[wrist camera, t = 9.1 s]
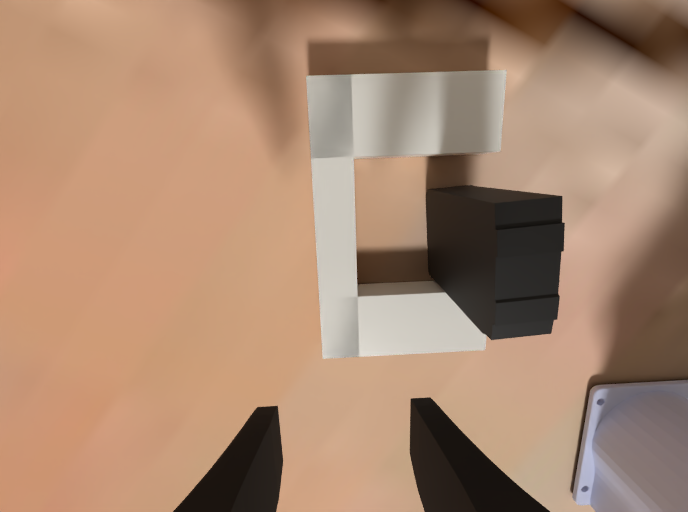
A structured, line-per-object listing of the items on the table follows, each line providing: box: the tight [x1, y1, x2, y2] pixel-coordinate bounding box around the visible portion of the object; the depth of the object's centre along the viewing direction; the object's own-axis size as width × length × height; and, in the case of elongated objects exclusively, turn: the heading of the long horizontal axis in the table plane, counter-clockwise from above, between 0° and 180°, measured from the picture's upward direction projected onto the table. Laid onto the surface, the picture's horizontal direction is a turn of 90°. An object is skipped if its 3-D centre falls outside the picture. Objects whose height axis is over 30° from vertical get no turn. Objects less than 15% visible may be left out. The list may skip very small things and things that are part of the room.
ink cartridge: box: [426, 185, 565, 340], centre depth 14 cm, size 5×2×8 cm, turn 5°
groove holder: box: [306, 70, 507, 359], centre depth 17 cm, size 14×9×2 cm, turn 2°
